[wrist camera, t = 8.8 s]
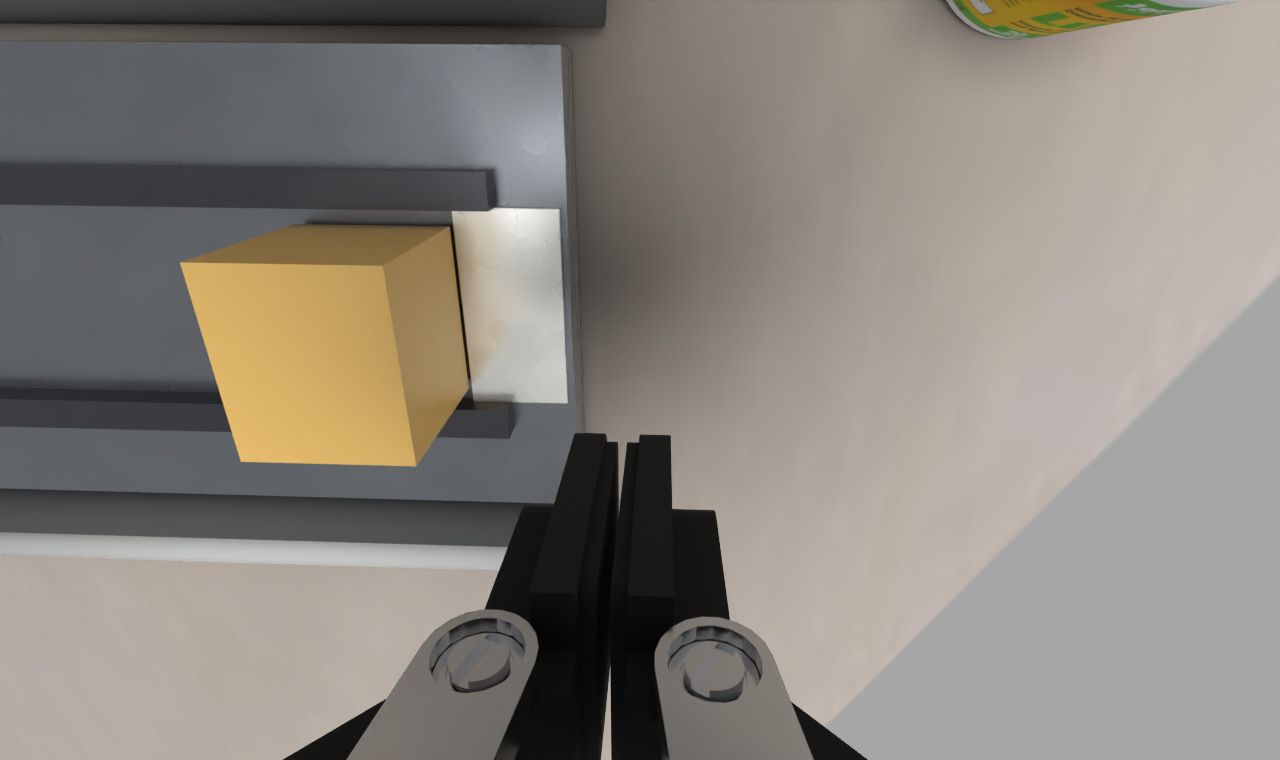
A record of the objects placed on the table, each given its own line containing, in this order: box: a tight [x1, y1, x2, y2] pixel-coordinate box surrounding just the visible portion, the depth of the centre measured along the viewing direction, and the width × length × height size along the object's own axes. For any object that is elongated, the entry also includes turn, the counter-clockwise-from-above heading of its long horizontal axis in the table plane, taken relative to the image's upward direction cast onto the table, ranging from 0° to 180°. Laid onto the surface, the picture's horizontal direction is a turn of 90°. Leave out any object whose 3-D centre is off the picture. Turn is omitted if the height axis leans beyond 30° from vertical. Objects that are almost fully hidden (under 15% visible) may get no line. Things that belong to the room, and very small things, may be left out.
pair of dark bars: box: [0, 0, 606, 571], centre depth 20 cm, size 26×20×2 cm
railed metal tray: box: [0, 41, 584, 504], centre depth 19 cm, size 24×14×3 cm, turn 89°
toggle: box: [180, 224, 469, 466], centre depth 16 cm, size 4×5×4 cm
